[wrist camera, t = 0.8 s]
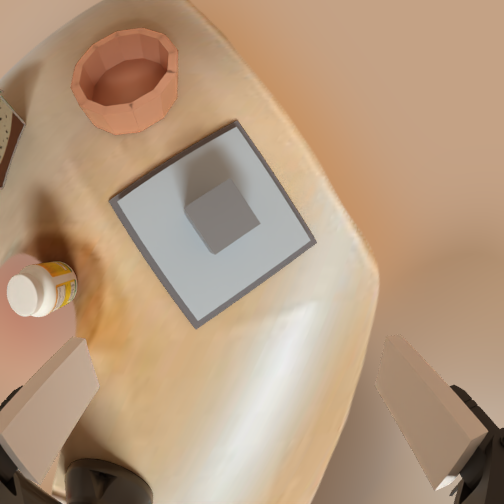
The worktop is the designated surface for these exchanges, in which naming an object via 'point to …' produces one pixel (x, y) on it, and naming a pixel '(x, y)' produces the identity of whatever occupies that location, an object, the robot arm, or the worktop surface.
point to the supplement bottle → (41, 288)
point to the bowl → (127, 80)
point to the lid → (214, 222)
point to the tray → (154, 265)
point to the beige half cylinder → (8, 137)
